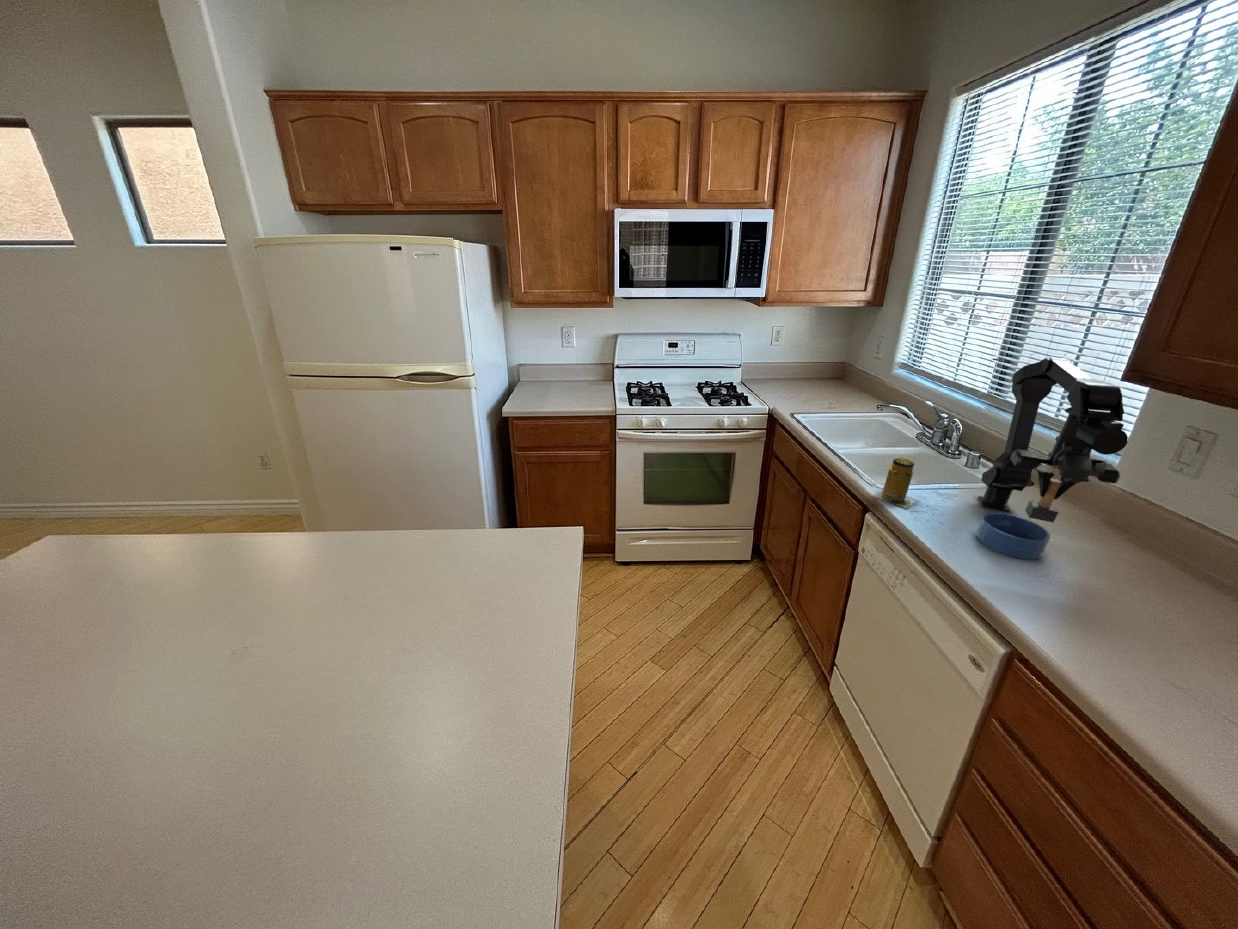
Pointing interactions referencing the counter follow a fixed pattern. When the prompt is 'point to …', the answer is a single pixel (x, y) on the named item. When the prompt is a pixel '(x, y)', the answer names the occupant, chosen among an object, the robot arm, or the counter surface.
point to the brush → (1045, 504)
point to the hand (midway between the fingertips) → (1047, 497)
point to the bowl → (1013, 535)
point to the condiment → (898, 483)
